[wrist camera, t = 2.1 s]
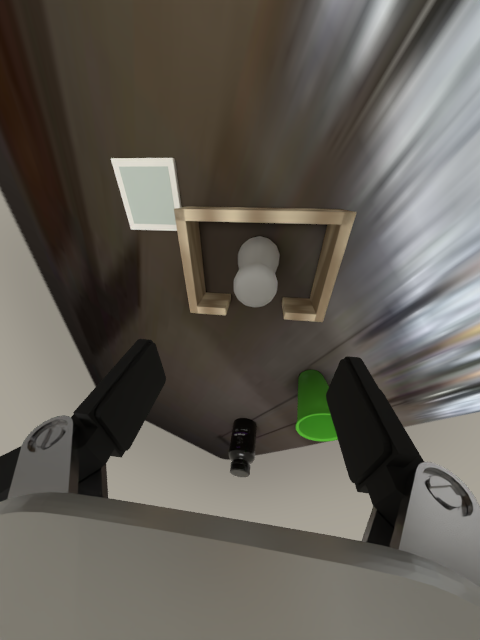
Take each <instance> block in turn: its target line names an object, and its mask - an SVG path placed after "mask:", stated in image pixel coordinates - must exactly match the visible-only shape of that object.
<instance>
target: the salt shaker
mask: <svg viewBox="0 0 480 640" xmlns="http://www.w3.org/2000/svg"><path fill="white" fill-rule="evenodd" d="M279 257H280V254H279V251H278V249H277V246H276V245H275V244H274V243H273V242H272V241H271V240H270V239H268V238H265V237H261V236H258V237H254V238H250V239H249V240H247V241H246V242H245V243H244V244H242V246H241V248H240V250H239V253H238V267H239V271H238V272H237V274H236V277H235V279H234V293H235V295H236V297H237V298H238V300H239V301H240V302H242V303H243V304H244V305H246V306H250V307H261V306H264V305H266V304H268V303H269V302H271V300H272V299H273V298H274V296H275V295H276V292H277V284H278V281H277V278H276V275H275V272H276V270H277V267H278V265H279Z"/></svg>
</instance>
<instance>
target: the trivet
mask: <svg viewBox="0 0 480 640" xmlns="http://www.w3.org/2000/svg"><path fill="white" fill-rule="evenodd" d="M111 161H112V165H113V168H114V172H115V175H116V179H117V182H118V186H119V189H120V193H121V196H122V200H123V203H124V207H125V210H126V214H127V217H128V221H129V224H130V228H131V229H132V230H166V231H177V226H176V220H175V214H174V209H176V208H182V206H181V199H180V192H179V185H178V178H177V171H176V164H175V159H174V158H111Z"/></svg>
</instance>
